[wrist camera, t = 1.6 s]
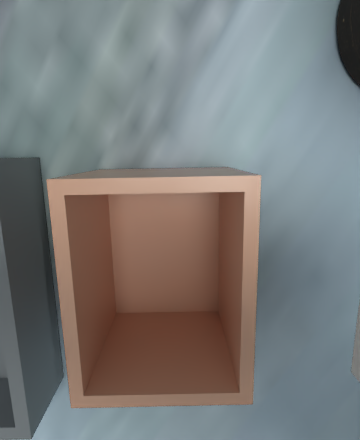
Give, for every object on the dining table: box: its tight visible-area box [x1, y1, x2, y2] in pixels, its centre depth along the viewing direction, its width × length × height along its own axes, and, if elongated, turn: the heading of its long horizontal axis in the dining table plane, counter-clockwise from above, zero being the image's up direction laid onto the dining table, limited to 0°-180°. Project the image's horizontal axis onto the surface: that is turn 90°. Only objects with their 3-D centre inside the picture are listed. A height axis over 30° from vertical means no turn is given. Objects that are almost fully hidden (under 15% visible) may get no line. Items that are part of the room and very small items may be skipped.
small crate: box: [47, 167, 261, 408], centre depth 16 cm, size 10×8×8 cm
